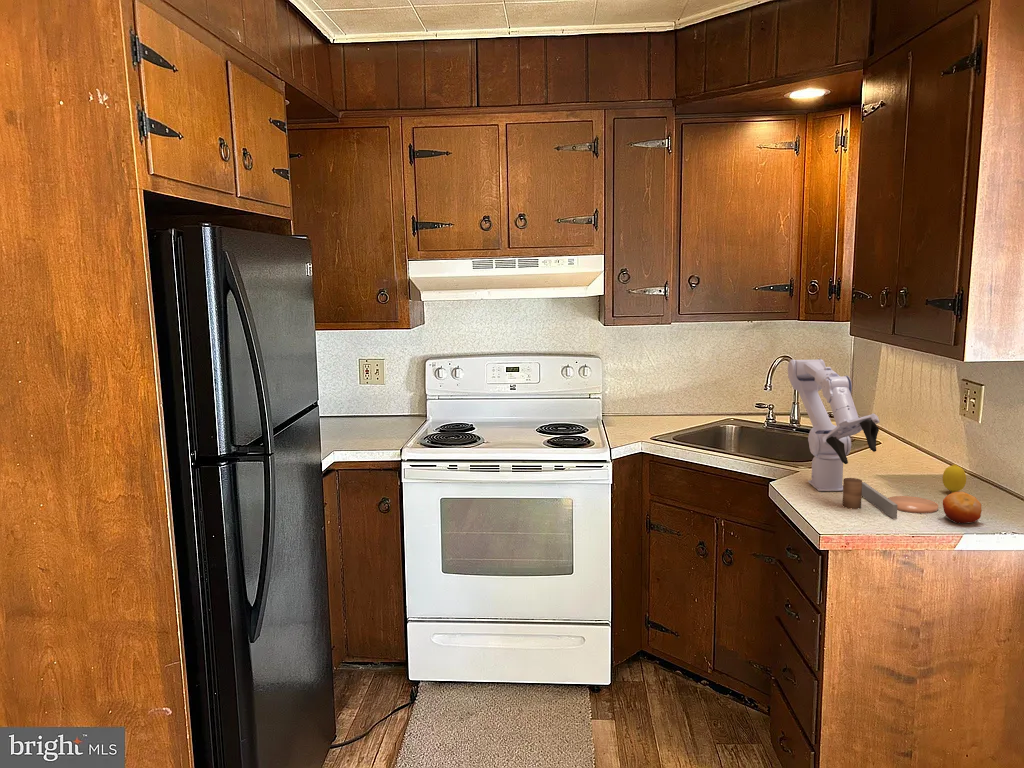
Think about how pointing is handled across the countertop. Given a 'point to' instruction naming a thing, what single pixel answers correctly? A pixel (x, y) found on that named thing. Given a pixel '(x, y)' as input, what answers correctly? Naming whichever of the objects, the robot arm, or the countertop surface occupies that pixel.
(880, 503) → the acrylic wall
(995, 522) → the countertop surface
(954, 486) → the lemon
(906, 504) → the saucer
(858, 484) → the walnut cylinder
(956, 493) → the fruit
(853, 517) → the countertop surface
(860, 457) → the countertop surface
